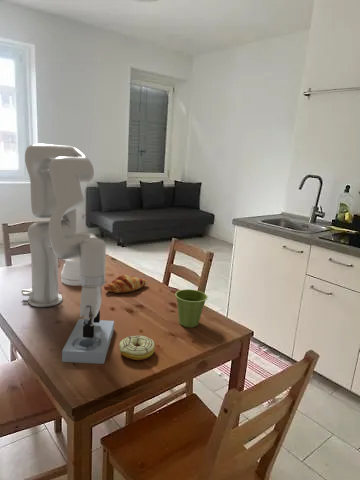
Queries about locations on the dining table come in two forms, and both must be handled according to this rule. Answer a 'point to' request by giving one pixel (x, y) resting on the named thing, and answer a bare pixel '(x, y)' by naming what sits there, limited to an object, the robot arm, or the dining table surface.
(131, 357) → the decorated donut
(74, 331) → the deck
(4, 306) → the dining table surface
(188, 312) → the plant pot
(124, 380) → the dining table surface
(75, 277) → the honey pot
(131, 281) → the croissant
